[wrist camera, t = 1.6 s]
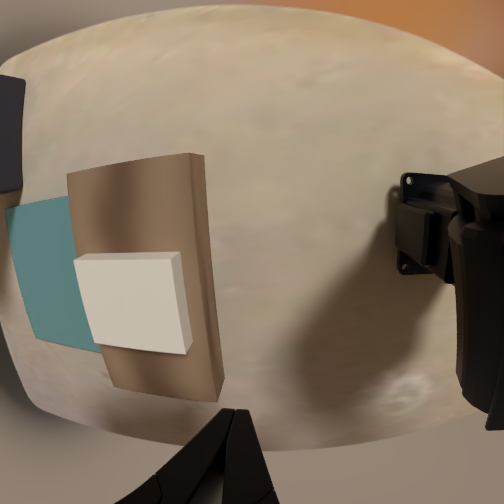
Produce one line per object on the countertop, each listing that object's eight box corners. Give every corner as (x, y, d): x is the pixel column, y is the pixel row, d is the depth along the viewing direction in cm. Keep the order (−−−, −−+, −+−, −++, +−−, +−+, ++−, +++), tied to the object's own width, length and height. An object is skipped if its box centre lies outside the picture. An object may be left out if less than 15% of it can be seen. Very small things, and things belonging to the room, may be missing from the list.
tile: (180, 251, 16) (170, 259, 15) (192, 341, 18) (185, 354, 17) (86, 253, 17) (73, 260, 16) (104, 332, 19) (94, 342, 17)
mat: (90, 192, 19) (87, 192, 19) (121, 353, 23) (119, 355, 22) (7, 208, 21) (4, 209, 20) (37, 336, 24) (35, 337, 24)
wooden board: (204, 155, 18) (189, 152, 15) (224, 378, 22) (217, 402, 19) (91, 172, 19) (66, 174, 16) (128, 367, 23) (113, 386, 20)
